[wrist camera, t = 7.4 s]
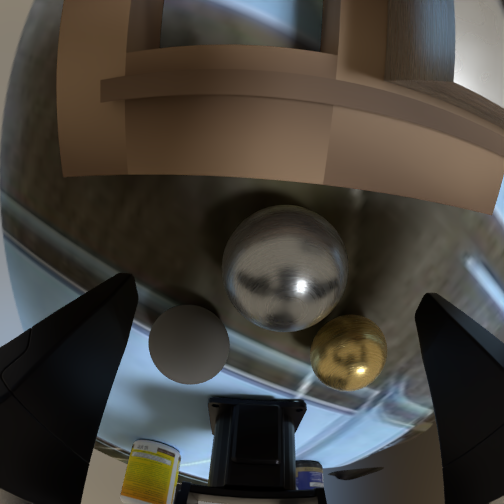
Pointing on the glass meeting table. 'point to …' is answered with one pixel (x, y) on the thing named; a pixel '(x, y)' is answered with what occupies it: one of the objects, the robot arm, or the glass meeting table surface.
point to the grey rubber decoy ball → (189, 344)
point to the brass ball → (348, 353)
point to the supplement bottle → (151, 474)
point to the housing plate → (263, 109)
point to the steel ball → (285, 268)
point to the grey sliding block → (449, 52)
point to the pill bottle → (308, 475)
